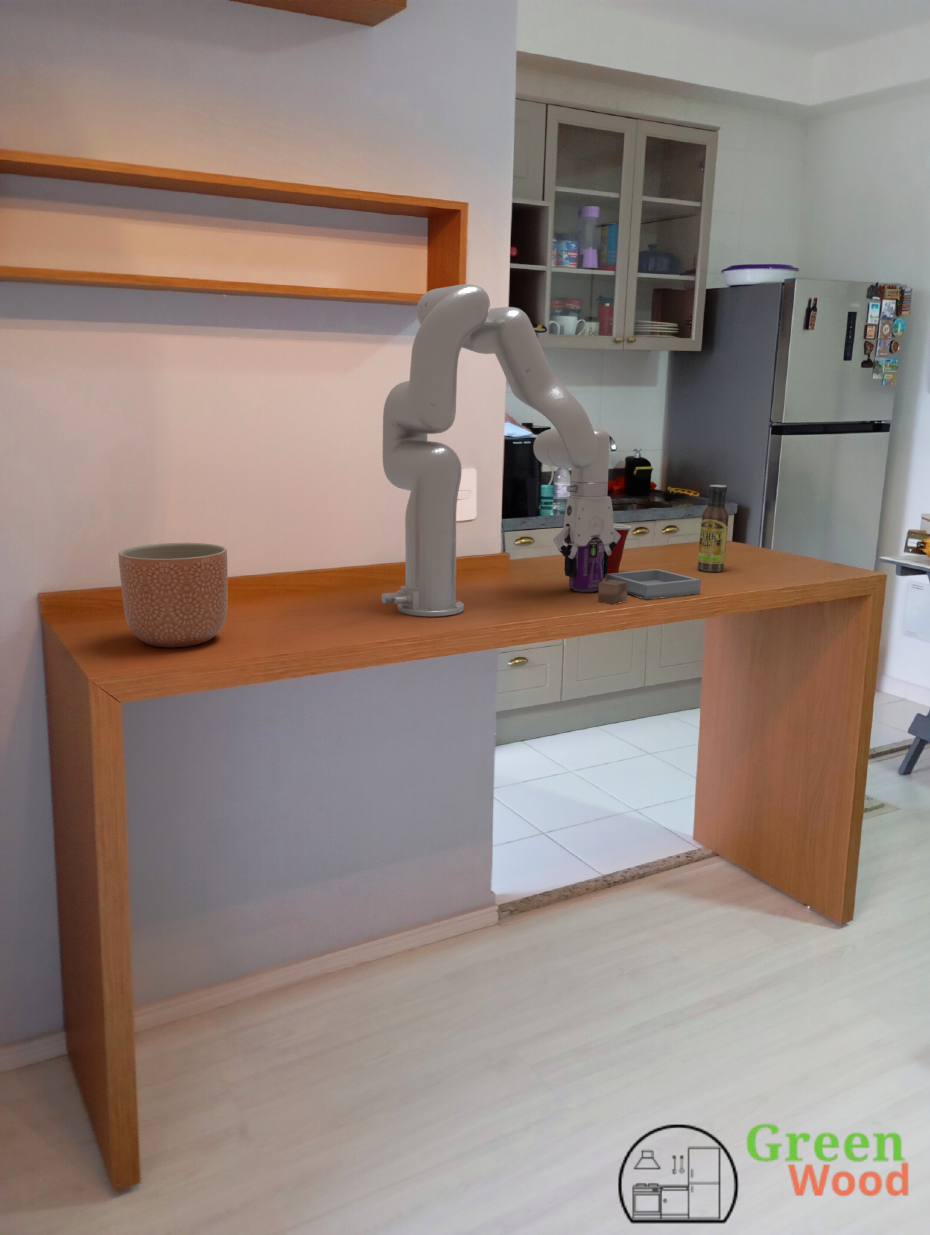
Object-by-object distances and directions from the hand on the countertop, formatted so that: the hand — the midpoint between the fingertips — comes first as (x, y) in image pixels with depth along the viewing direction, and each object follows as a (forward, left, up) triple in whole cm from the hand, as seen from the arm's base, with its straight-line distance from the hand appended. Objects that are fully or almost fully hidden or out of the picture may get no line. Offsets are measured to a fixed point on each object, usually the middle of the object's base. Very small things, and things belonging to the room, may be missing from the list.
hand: (586, 574), depth 211 cm
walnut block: (-2, -12, -3) cm, 13 cm away
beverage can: (0, 0, -4) cm, 4 cm away
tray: (+12, -7, -3) cm, 14 cm away
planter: (-86, -5, -4) cm, 86 cm away
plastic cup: (+14, +12, -4) cm, 19 cm away
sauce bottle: (+40, +6, -4) cm, 41 cm away
